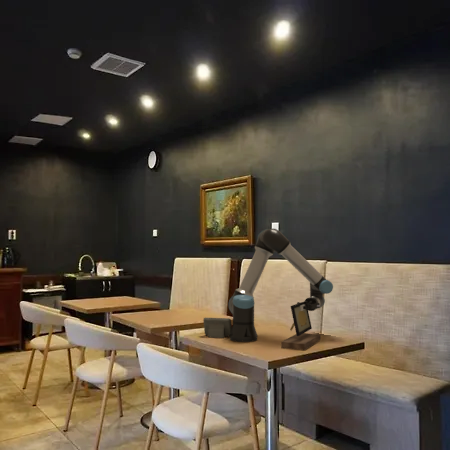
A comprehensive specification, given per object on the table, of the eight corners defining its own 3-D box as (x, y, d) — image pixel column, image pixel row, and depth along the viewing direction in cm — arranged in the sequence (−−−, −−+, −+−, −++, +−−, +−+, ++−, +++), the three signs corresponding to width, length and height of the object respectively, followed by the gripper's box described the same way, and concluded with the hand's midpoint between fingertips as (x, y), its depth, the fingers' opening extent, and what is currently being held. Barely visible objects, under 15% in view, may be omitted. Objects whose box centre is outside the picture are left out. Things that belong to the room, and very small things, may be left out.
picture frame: (299, 336, 217) (297, 305, 218) (282, 335, 221) (280, 305, 222) (312, 329, 237) (310, 301, 238) (296, 328, 241) (294, 301, 242)
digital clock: (233, 336, 246) (233, 317, 247) (227, 339, 238) (227, 319, 239) (207, 334, 253) (208, 315, 254) (200, 336, 245) (200, 317, 246)
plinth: (281, 347, 217) (281, 341, 217) (299, 338, 241) (299, 332, 242) (304, 350, 211) (304, 344, 211) (320, 340, 236) (320, 334, 236)
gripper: (324, 311, 246) (312, 316, 225) (300, 309, 252) (286, 314, 231) (323, 297, 246) (312, 301, 225) (300, 296, 253) (286, 300, 232)
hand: (299, 308), depth 228 cm, fingers closed
